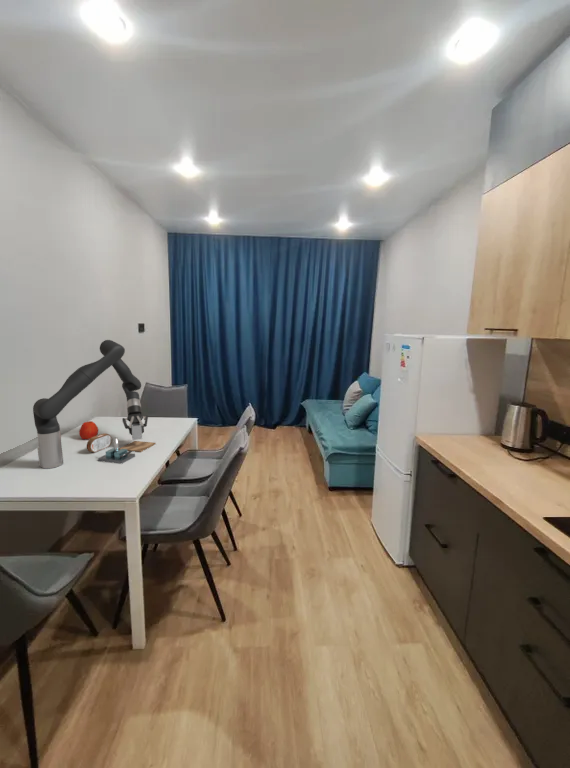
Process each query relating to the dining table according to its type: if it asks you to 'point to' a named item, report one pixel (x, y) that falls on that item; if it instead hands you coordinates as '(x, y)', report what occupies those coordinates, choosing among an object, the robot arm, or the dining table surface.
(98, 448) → the tin
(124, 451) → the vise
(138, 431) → the sleeve
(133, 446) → the board
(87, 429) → the apple
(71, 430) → the dining table surface
